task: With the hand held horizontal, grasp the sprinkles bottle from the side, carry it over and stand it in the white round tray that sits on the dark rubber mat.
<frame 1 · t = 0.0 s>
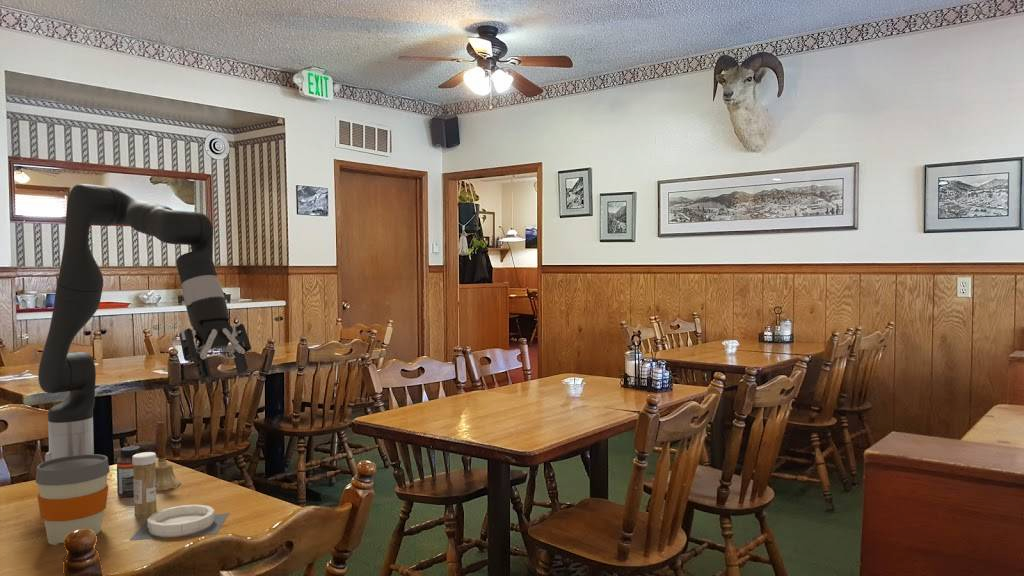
hand: (225, 376, 142), 31 cm above the table, tool tilted 20°, fingers open, 8 cm apart
supplement bottle: (131, 495, 165), on the table
white round tray: (181, 526, 143), resting on mat
reusable coffee cup: (74, 537, 139), on the table
sprinkles bottle: (145, 516, 151), on the table
hand bell: (162, 487, 172), on the table
mat: (181, 529, 143), on the table
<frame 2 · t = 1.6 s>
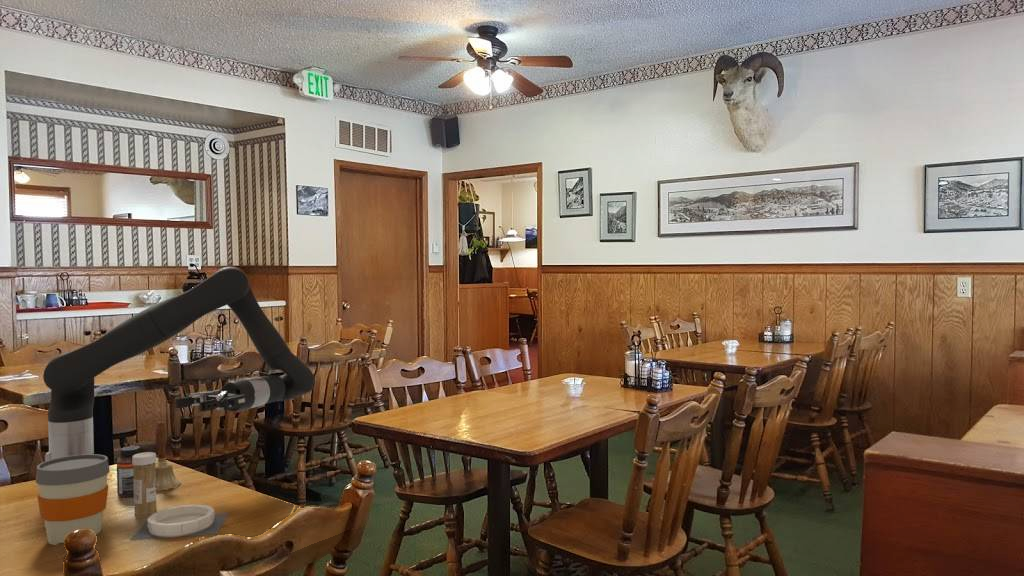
hand: (188, 405, 160), 22 cm above the table, tool horizontal, fingers open, 8 cm apart
nothing on the table moved.
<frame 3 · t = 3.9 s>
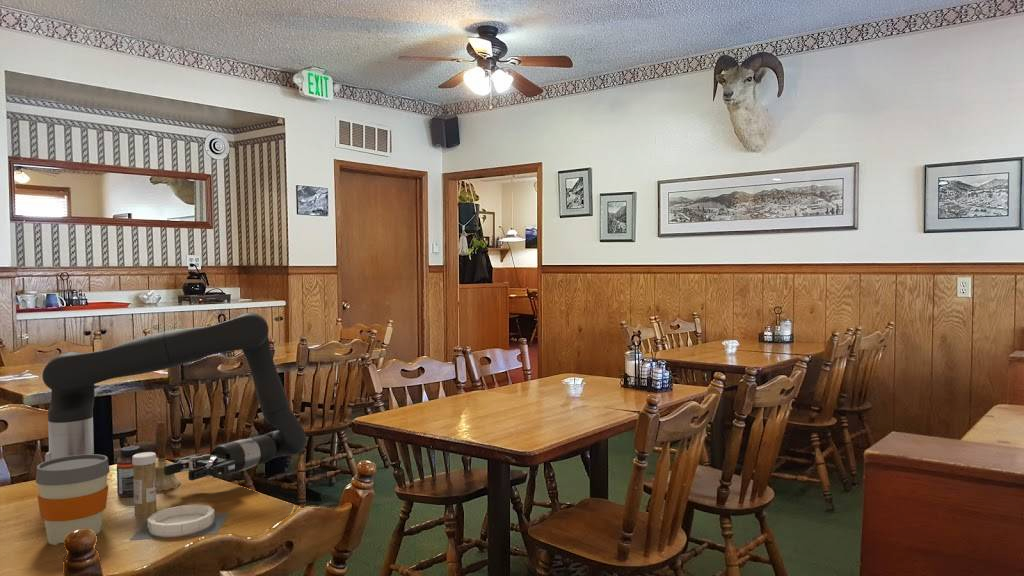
hand: (177, 473, 158), 7 cm above the table, tool horizontal, fingers open, 8 cm apart
nothing on the table moved.
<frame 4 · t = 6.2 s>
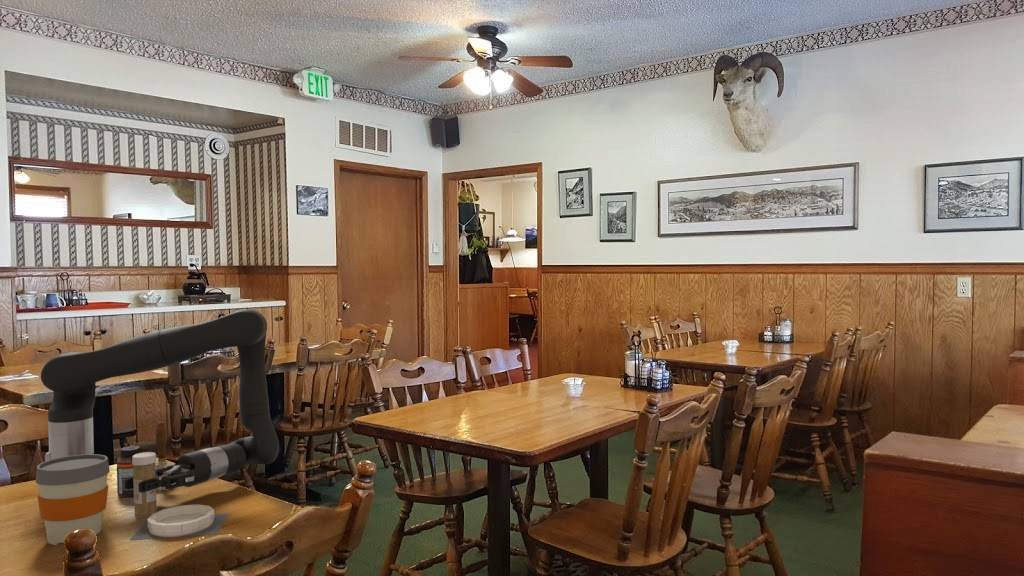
hand: (132, 486, 148), 7 cm above the table, tool horizontal, fingers closed on sprinkles bottle, 4 cm apart
sprinkles bottle: (145, 516, 151), on the table, touching gripper
everything else where it was.
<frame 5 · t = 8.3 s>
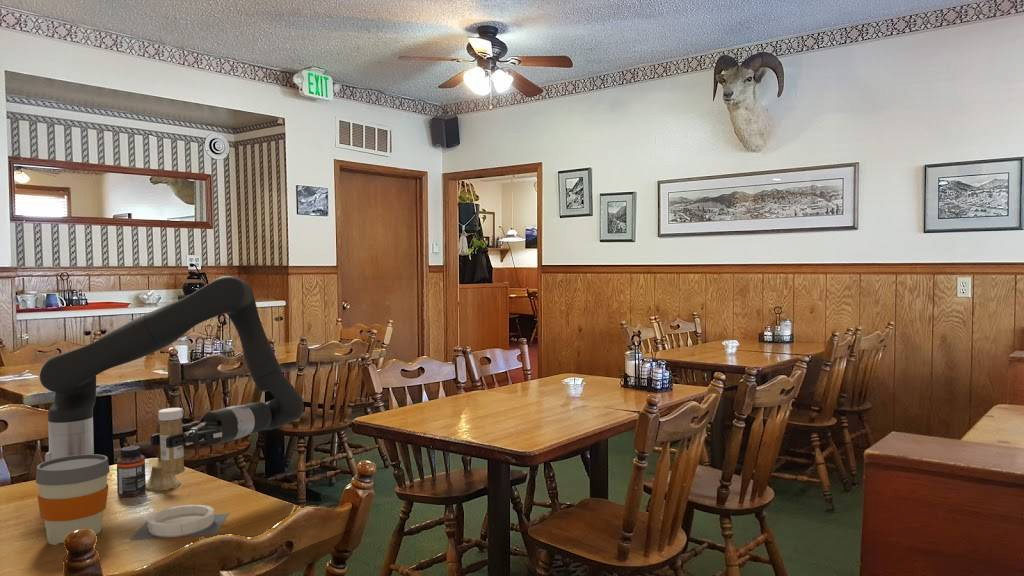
hand: (159, 441, 143), 18 cm above the table, tool horizontal, fingers closed on sprinkles bottle, 4 cm apart
sprinkles bottle: (172, 474, 146), point 10 cm above the table, touching gripper
everything else where it was.
when the fingers open (10 cm above the table, at t = 10.5 s): sprinkles bottle drops 1 cm, resting on white round tray.
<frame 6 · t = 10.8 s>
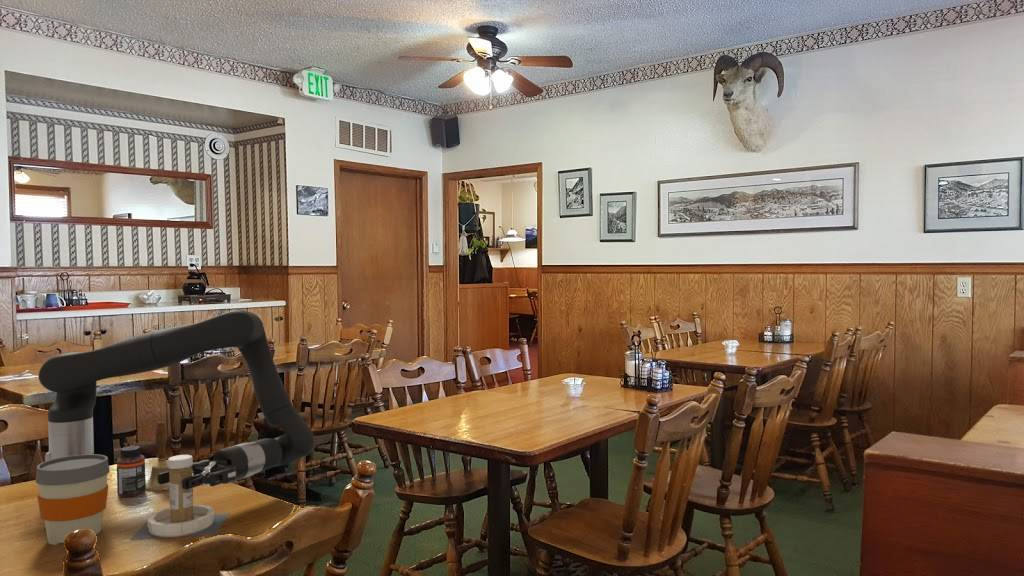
hand: (171, 481, 141), 10 cm above the table, tool horizontal, fingers open, 7 cm apart
sprinkles bottle: (181, 522, 143), point 1 cm above the table, touching white round tray
everything else where it was.
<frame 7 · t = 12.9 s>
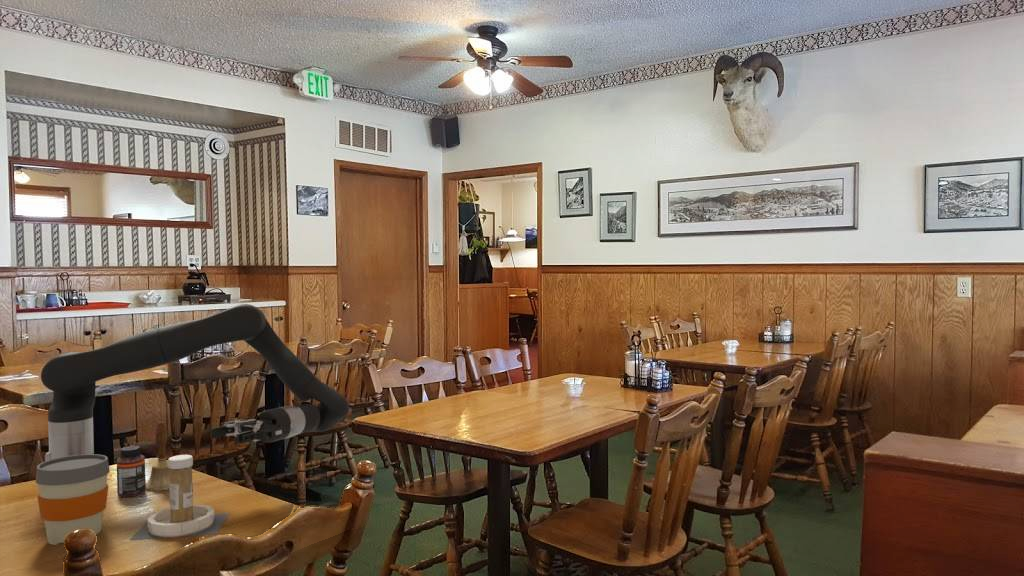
hand: (224, 436, 153), 17 cm above the table, tool horizontal, fingers open, 8 cm apart
nothing on the table moved.
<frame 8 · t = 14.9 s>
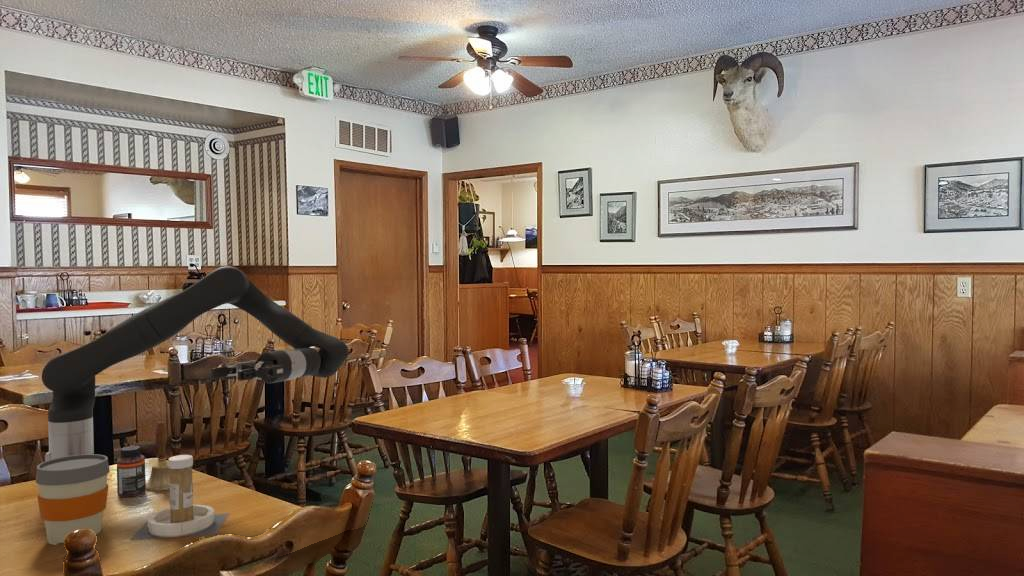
hand: (225, 374, 154), 30 cm above the table, tool horizontal, fingers open, 8 cm apart
nothing on the table moved.
at the end: sprinkles bottle 0.1 cm from the white round tray (horizontally); sprinkles bottle tilted 1°; the gripper is holding nothing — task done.
